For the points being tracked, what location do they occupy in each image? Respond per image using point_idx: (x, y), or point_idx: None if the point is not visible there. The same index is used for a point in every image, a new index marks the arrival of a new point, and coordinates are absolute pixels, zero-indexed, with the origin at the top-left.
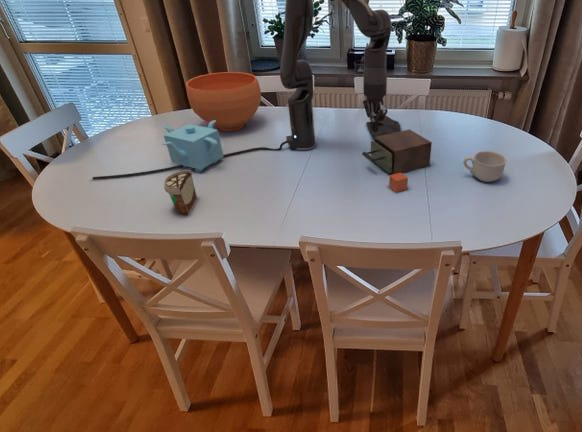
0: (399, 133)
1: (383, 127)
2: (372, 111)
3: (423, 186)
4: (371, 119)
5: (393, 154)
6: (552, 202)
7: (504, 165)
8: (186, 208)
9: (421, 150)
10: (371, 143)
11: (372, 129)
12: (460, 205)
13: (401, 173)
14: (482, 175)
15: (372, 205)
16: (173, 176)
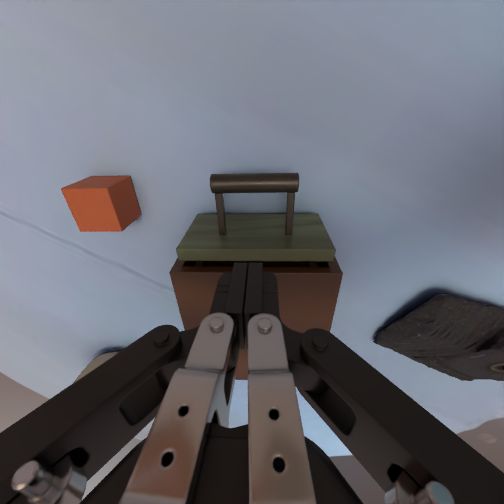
0: None
1: (455, 342)
2: (161, 430)
3: (113, 257)
4: (248, 327)
5: (181, 262)
6: (29, 379)
7: None
8: None
9: None
10: (327, 244)
11: (238, 271)
12: (15, 275)
13: (113, 230)
14: (91, 362)
15: (5, 45)
16: None
